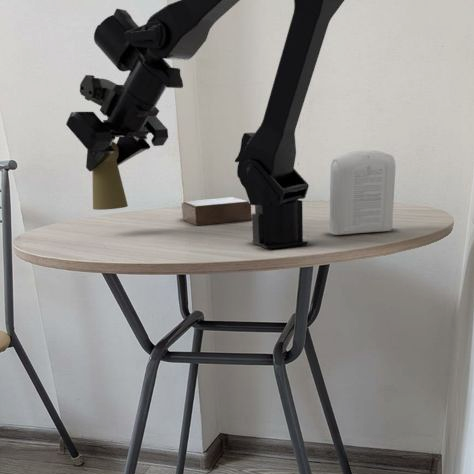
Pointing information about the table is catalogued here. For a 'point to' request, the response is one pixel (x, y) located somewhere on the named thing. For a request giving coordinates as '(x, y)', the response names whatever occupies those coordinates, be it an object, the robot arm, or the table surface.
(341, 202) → the white upright block
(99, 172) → the cork
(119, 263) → the table surface
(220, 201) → the block
